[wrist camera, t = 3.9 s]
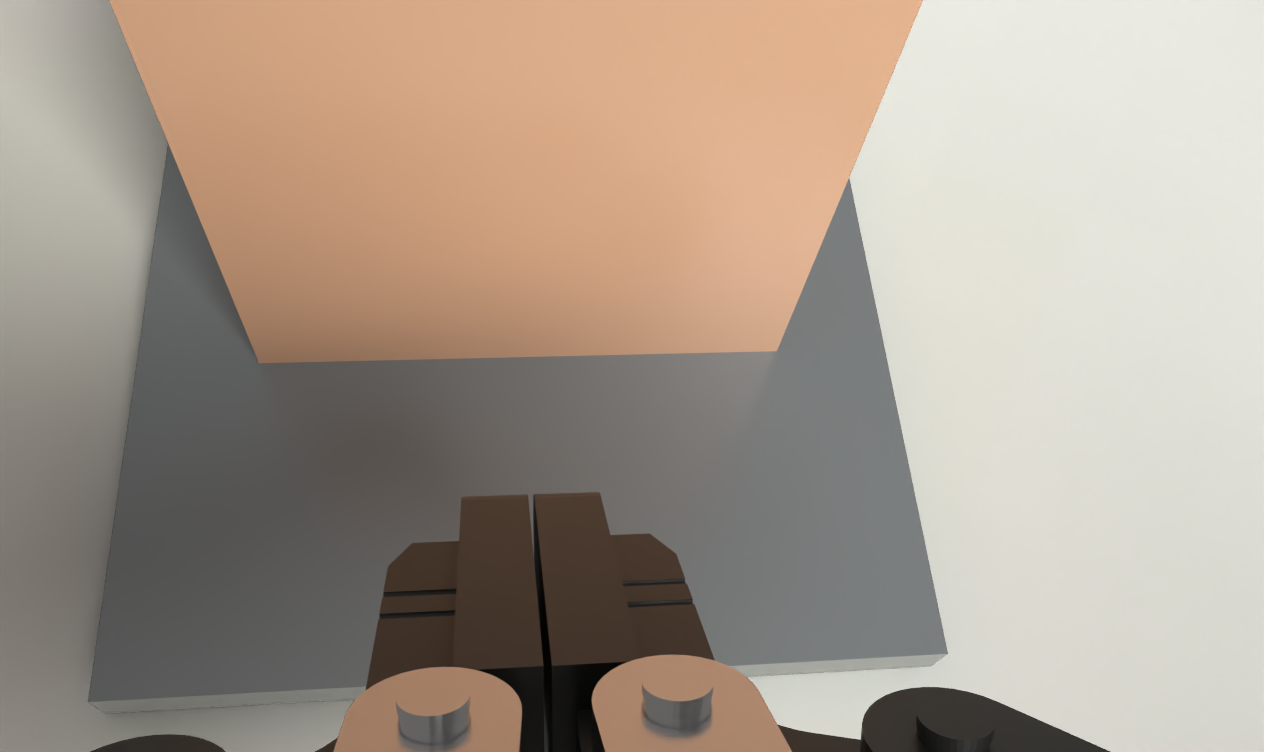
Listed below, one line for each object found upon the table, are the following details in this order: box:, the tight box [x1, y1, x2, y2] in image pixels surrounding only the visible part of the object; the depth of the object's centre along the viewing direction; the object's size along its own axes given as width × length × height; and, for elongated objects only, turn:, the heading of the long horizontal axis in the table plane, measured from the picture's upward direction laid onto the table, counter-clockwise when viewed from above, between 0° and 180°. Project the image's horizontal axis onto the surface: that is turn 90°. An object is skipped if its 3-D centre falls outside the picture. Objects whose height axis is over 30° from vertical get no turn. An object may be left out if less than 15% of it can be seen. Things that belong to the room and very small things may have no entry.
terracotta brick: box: [109, 0, 923, 363], centre depth 16 cm, size 3×9×10 cm, turn 94°
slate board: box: [88, 144, 948, 714], centre depth 23 cm, size 22×13×1 cm, turn 5°
